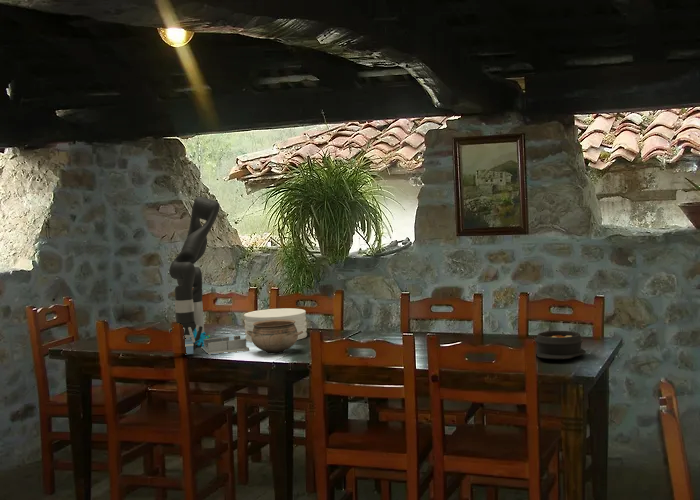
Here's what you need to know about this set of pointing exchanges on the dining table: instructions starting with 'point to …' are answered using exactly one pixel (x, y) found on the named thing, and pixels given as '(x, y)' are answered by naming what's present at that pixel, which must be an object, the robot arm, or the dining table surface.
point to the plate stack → (276, 314)
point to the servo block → (189, 346)
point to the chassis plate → (224, 345)
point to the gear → (200, 337)
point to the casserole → (559, 345)
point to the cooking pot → (274, 335)
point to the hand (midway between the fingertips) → (187, 351)
